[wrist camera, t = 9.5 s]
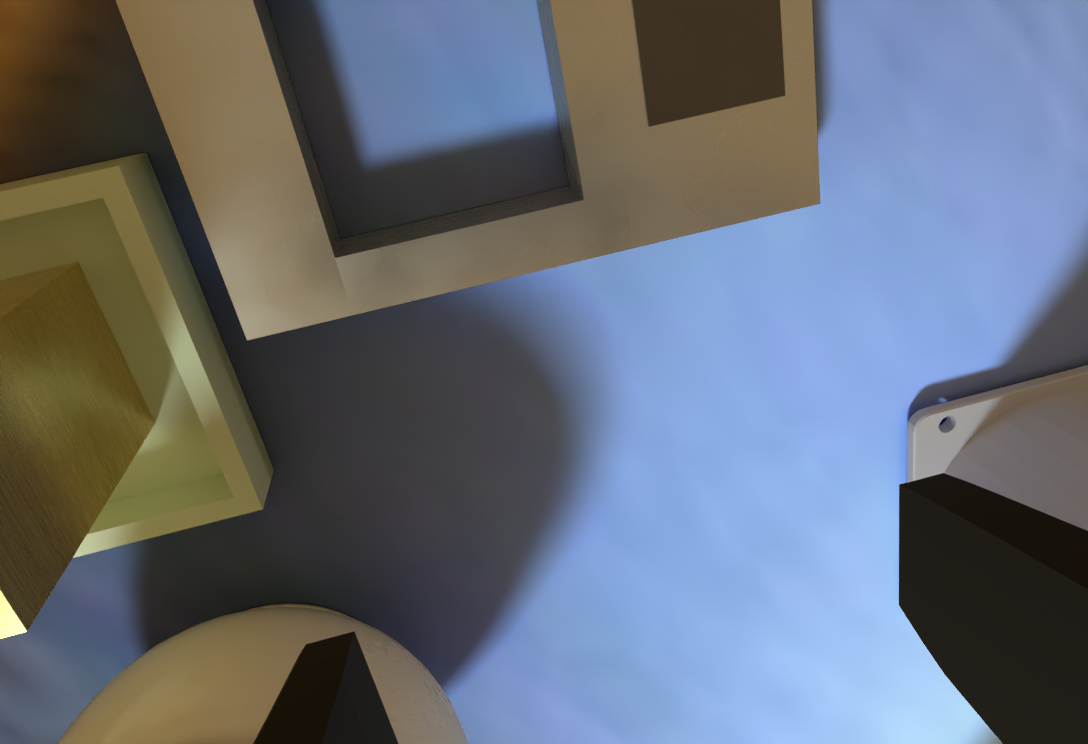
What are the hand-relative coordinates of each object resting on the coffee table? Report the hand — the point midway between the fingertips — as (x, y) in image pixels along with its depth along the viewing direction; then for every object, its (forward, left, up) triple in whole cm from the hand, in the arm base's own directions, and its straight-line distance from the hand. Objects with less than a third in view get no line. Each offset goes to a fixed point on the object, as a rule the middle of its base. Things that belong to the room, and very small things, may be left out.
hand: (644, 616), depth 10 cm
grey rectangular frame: (0, -6, -10) cm, 12 cm away
